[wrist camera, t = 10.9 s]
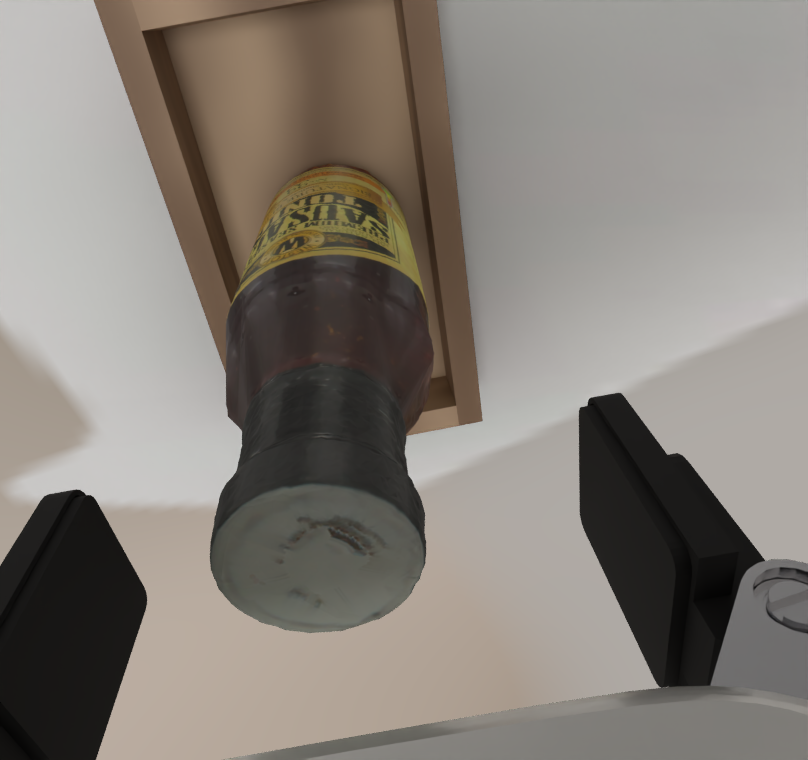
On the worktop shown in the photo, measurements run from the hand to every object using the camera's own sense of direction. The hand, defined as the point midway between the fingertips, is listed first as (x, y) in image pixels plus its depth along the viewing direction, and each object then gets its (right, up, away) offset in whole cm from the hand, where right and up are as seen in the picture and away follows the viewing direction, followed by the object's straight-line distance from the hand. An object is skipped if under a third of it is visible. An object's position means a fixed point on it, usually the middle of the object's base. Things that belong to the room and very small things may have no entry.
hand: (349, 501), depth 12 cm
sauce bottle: (-2, +9, +16) cm, 19 cm away
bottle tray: (-3, +10, +17) cm, 20 cm away
